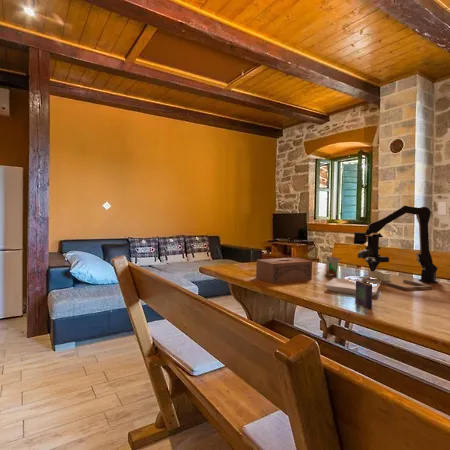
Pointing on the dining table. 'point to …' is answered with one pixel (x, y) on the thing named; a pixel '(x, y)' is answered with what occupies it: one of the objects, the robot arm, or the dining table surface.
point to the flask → (363, 293)
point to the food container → (332, 266)
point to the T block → (380, 275)
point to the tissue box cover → (283, 270)
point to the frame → (417, 287)
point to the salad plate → (345, 286)
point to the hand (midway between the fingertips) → (372, 272)
